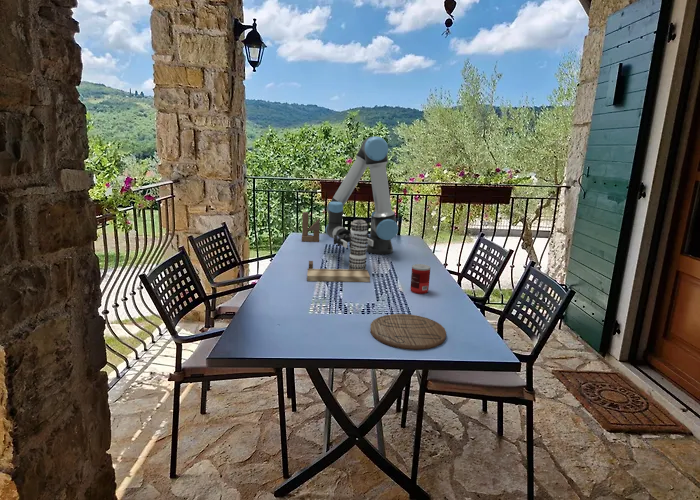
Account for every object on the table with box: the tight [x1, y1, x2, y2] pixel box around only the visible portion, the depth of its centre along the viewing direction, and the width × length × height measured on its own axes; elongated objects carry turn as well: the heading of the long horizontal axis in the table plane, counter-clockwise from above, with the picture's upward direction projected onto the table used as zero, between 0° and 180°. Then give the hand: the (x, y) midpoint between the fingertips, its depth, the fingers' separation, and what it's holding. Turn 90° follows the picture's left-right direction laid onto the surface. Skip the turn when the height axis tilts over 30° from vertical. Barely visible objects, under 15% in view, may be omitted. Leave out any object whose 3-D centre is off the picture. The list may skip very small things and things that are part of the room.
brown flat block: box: [308, 260, 314, 269], centre depth 210 cm, size 2×6×4 cm, turn 5°
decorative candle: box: [347, 219, 370, 270], centre depth 210 cm, size 9×9×25 cm
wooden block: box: [301, 211, 321, 243], centre depth 269 cm, size 4×11×18 cm, turn 93°
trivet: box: [369, 313, 447, 351], centre depth 146 cm, size 25×25×2 cm
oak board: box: [306, 268, 371, 283], centre depth 201 cm, size 28×11×3 cm, turn 95°
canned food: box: [409, 263, 431, 295], centre depth 186 cm, size 8×8×11 cm
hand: (359, 244), depth 207 cm, fingers open, 13 cm apart
